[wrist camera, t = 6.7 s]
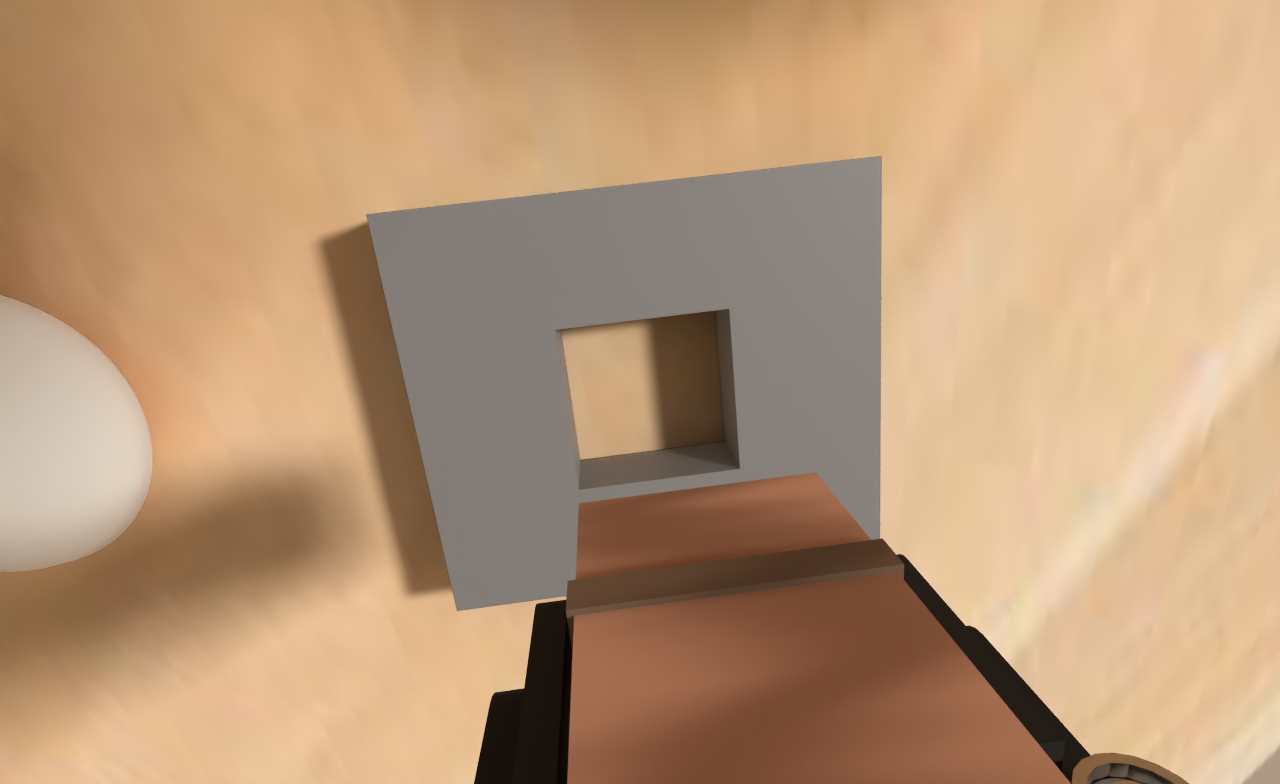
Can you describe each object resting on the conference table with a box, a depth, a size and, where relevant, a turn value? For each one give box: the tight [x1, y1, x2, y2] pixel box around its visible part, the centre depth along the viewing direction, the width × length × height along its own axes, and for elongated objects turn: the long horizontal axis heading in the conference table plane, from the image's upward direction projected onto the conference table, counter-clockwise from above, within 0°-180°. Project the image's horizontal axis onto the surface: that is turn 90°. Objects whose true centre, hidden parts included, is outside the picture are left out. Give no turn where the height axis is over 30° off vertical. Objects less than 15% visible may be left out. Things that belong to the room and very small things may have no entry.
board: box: [366, 156, 882, 611], centre depth 26 cm, size 18×16×3 cm
